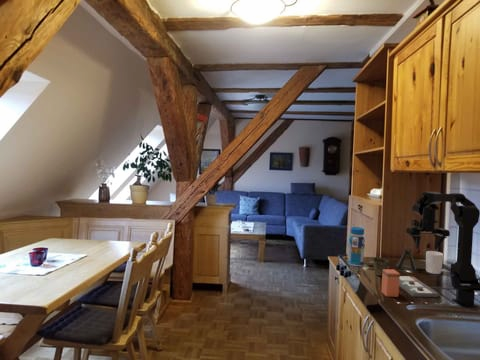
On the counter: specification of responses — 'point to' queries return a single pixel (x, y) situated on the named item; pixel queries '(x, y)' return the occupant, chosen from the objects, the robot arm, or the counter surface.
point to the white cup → (434, 262)
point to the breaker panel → (416, 287)
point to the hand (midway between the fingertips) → (426, 249)
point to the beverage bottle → (356, 247)
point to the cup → (380, 265)
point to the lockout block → (390, 282)
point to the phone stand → (413, 267)
